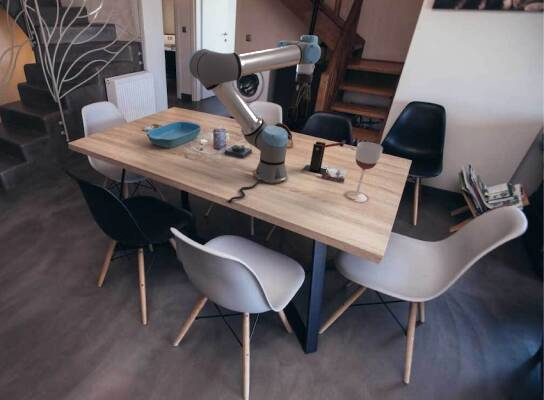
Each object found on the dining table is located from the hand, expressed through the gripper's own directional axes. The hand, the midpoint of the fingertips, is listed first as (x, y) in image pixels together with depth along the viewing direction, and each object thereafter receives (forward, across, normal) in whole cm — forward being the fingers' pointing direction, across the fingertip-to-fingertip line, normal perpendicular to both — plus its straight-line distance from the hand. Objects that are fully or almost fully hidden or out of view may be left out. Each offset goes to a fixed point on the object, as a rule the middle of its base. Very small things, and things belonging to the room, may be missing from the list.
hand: (298, 118), depth 154 cm
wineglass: (+23, -21, -38) cm, 49 cm away
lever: (+9, -6, -20) cm, 23 cm away
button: (+19, -8, +29) cm, 36 cm away
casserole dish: (+23, -13, +72) cm, 77 cm away
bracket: (+23, -7, -14) cm, 28 cm away
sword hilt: (+23, +20, +16) cm, 34 cm away
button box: (+23, -8, +29) cm, 38 cm away
